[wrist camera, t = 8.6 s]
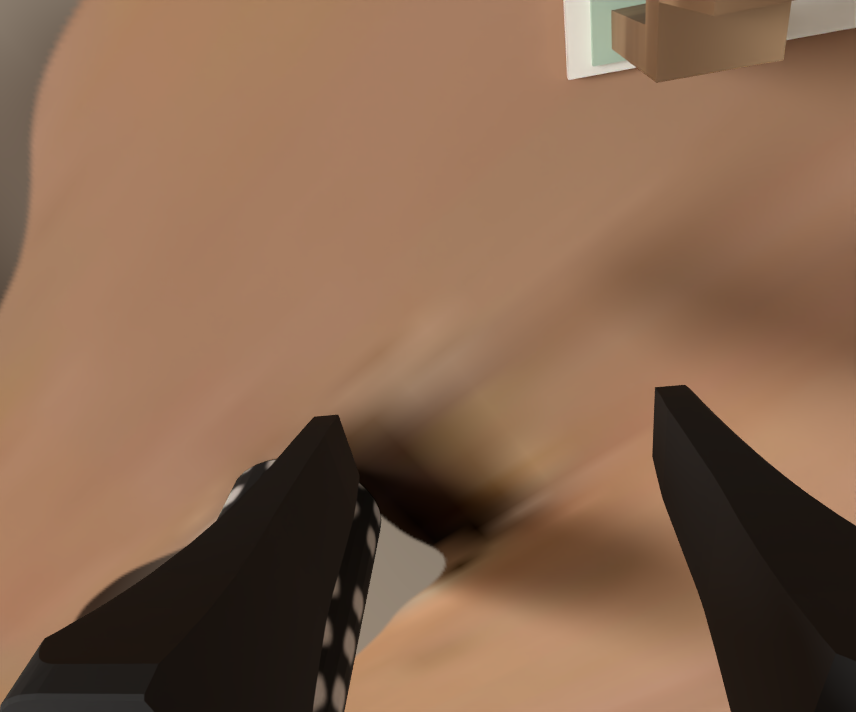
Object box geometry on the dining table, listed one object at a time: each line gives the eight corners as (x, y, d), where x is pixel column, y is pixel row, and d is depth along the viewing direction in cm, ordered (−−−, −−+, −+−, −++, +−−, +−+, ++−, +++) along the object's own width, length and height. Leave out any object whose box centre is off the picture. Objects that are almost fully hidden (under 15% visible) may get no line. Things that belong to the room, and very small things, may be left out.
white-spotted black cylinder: (360, 452, 29) (181, 1116, 12) (395, 557, 33) (300, 1145, 17) (207, 463, 30) (-136, 1068, 14) (261, 562, 35) (52, 1106, 18)
